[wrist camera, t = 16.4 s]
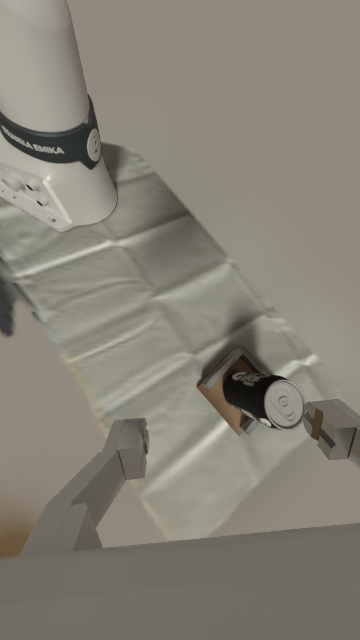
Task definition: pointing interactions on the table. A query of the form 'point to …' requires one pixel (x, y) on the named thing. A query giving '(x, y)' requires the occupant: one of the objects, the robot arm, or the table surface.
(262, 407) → the beverage can
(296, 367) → the table surface
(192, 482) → the table surface
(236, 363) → the brown flat square tray
